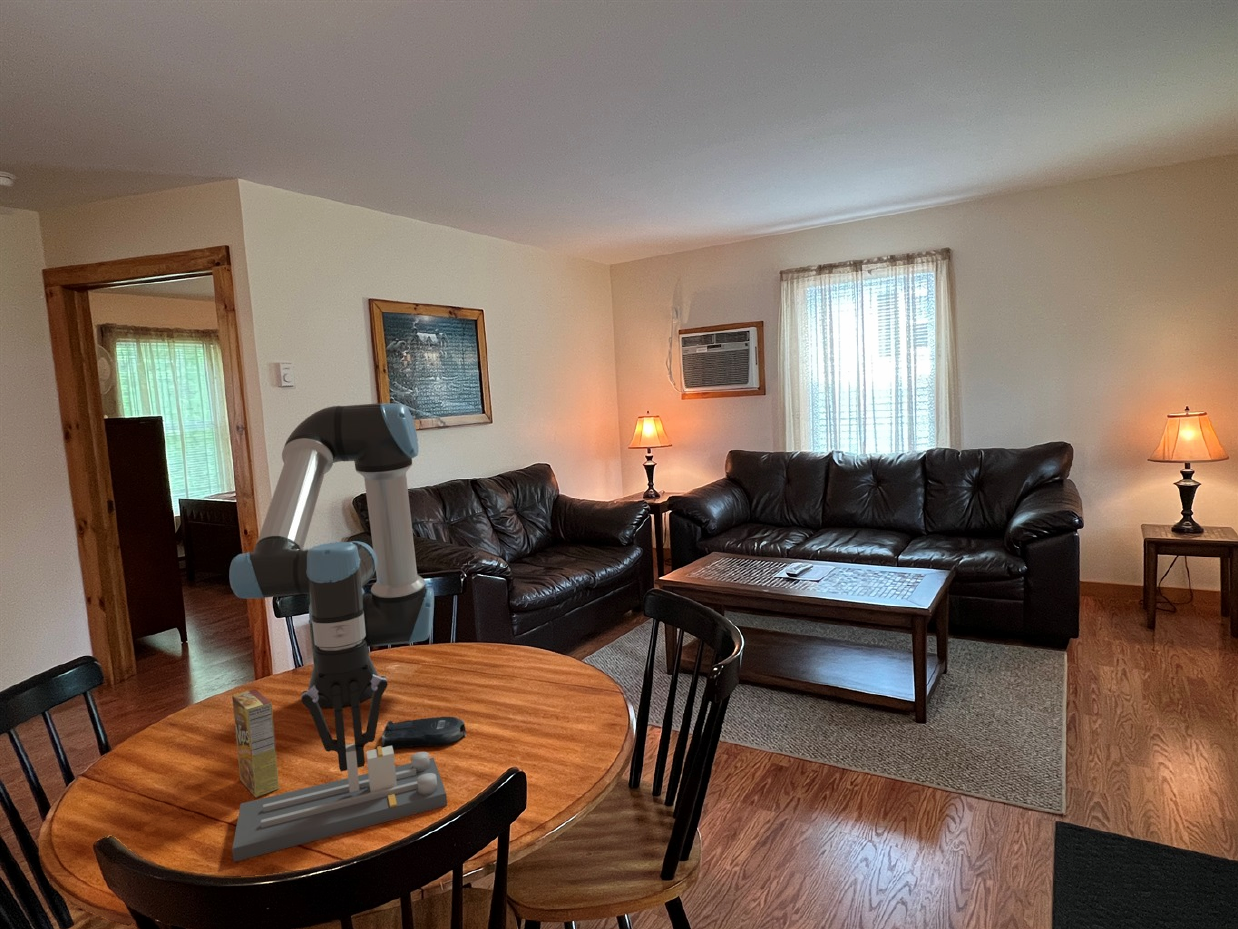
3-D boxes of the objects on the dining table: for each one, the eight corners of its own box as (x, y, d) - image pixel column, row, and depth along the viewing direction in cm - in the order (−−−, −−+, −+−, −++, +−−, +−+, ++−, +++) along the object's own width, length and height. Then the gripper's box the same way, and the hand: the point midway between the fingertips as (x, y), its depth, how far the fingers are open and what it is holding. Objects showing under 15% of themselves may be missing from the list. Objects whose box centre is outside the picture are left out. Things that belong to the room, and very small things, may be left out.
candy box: (239, 780, 126) (229, 695, 124) (264, 771, 128) (256, 687, 127) (255, 799, 119) (245, 709, 118) (281, 788, 122) (272, 701, 121)
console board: (242, 815, 114) (239, 791, 114) (434, 768, 126) (432, 746, 125) (233, 862, 102) (230, 835, 102) (447, 805, 114) (445, 781, 114)
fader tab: (369, 786, 117) (366, 749, 116) (395, 780, 118) (391, 743, 118) (370, 795, 114) (367, 757, 113) (397, 789, 116) (393, 751, 115)
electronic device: (383, 764, 132) (464, 743, 134) (377, 734, 132) (458, 713, 134) (393, 747, 141) (469, 727, 143) (387, 719, 142) (463, 700, 143)
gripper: (294, 658, 106) (309, 810, 109) (386, 642, 111) (399, 788, 113) (295, 643, 113) (310, 786, 115) (382, 629, 118) (394, 766, 120)
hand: (354, 787), depth 114 cm, fingers closed
